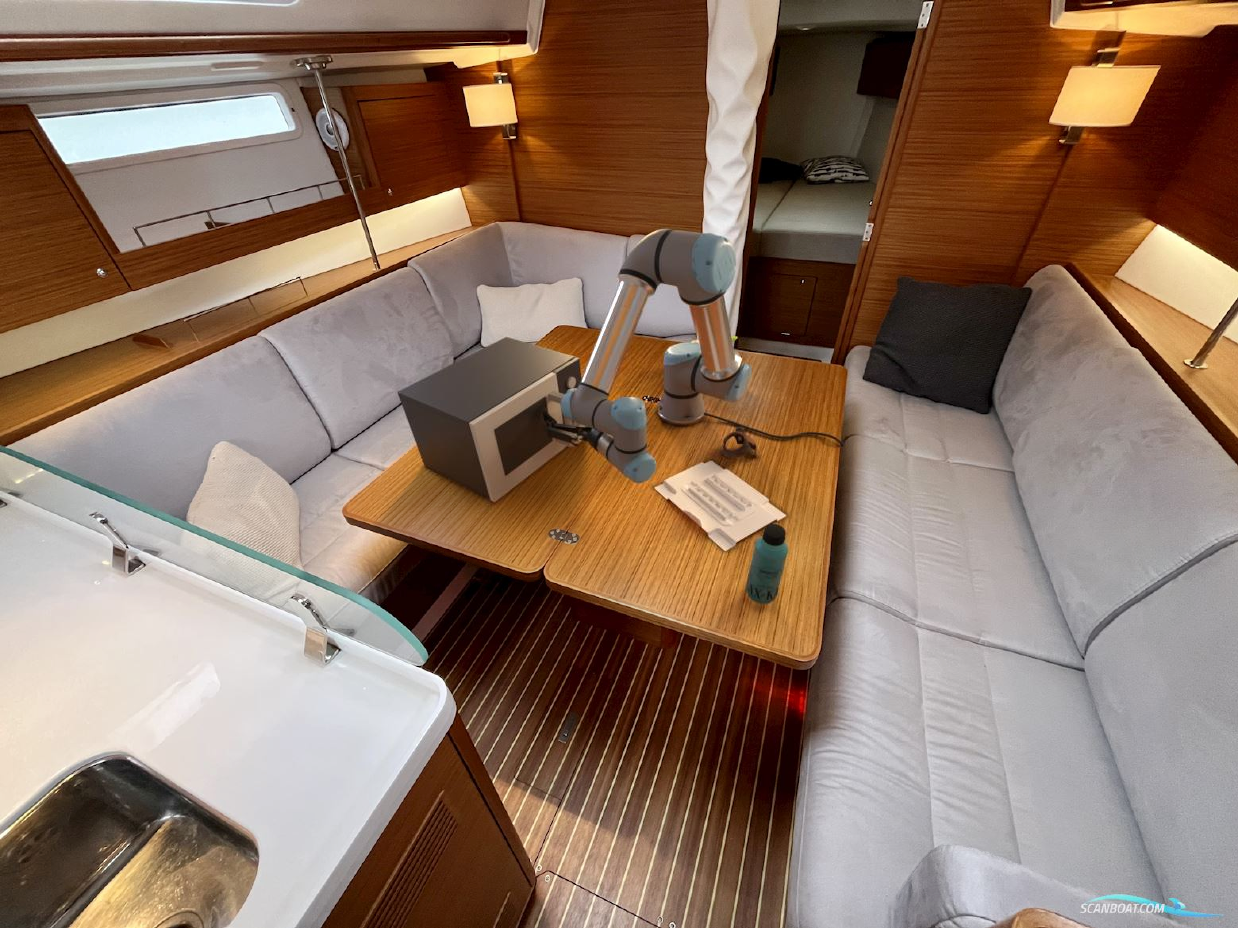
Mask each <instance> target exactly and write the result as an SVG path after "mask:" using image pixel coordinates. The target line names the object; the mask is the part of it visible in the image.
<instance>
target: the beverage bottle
mask: <svg viewBox="0 0 1238 928" xmlns="http://www.w3.org/2000/svg"><path fill="white" fill-rule="evenodd" d="M786 534H787V531H786V529H785V528H784V526H782V525H780V524H778V523H769V524H767V525H765V526H764V528H763V532H762V535H761V536H759V537H757V539H756V540H755V542H754V547H753V552H752V557H751V561H750V562H749V563H750V564H749V570H748V573H747V579H746V583H745V584H746V585H745V591H746V595H747V596H748V598H749V599H750V600H751V601H752V602H753V603H757V604H759V605H769V604H772V603H773V602H774V601H775V600H776V599H777V597H778V594H779V590H780V586H781V582H782V578H783V573H784V570H785V565H786V560H787V556H788V553H789V545H788V544H787V542H786Z"/></svg>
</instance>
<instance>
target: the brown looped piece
mask: <svg viewBox="0 0 1238 928" xmlns="http://www.w3.org/2000/svg"><path fill="white" fill-rule="evenodd" d="M733 437H734V439H735V442H736V444H737V445H741V446H739V447H738V448H736V449H729V448H728V447H726V444H727V442H728V441H729V440H730V439H731V438H733ZM722 443H723V444H722V446H721V447H722V449H721V451H722V455H723V456H724V457H726V458H729V459H736V458H740V459H744V458H745V457H744V452H745V453H746V452H752V451H754V455H755V456H754V457H755V458H758V447H757V444H756V442H755V440H754V439H753V438H752V436H750V435H749V434H746V432H745V428H743V427H741V426H737V427H736V428H735V431H732V432H730V433H728V434H727V435H726V436H725V437H724V438H723V440H722Z"/></svg>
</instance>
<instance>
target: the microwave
mask: <svg viewBox="0 0 1238 928" xmlns="http://www.w3.org/2000/svg"><path fill="white" fill-rule="evenodd" d="M581 369H582V368H581V361H580V358H579V357H576V356H574V355H571V354H567V353H564V352H561V351H557V350H553V349H551V348H547V347H543V346H540V345H537V344H533V343H529V342H525V341H522V340H519V339H515V338H512V337H508V336H505V337H503V338H501V339H499V340H496V341H495V342H493V343H491V344H490V345H489V344H488V345H487V346H486V347H484V348H483V347H482V349H480V350H477V351H475V352H474V353H471V354H470V355H467V356H465V357H463V358H461V359H459V360H457V361H456V362H454V363H451V364H449V365H448V366H446V367H444V368H441V369H440V370H438V371H436V372H433V373H432V374H430V375H428V376H426V377H424V378H421V379H420V380H418V381H416V382H414V383H412V384H410V385H408V386H406V387H404V388H403V389H402V388H401V389H400V390H398V391H396V392H397V395H398V398H399V401H400V404H401V406H402V409H403V412H404V415H405V418H406V420H407V423H408V425H409V428H410V431H411V433H412V437H413V438H414V441H415V445H416V447H417V450H418V452H419V455H420V457H421V461H422V463H423V465H424V467H425V468H427V469H429V470H431V471H433V472H435V473H437V474H439V475H440V476H443V477H444V478H447V479H449V480H450V481H453V482H454V483H456V484H458V485H460V486H462V487H464V488H466V489H468V491H469V490H470V491H471V492H473V493H476V494H477V495H479V496H481V497H483V498H485V499H487V500H489V501H491V500H490V497H489V493H488V490H487V486H486V482H485V479H484V475H483V472H482V468H481V465H480V461H479V457H478V454H477V450H476V447H475V443H474V440H473V436H472V432H471V429H470V425H469V423H470V422H471V421H473V420H475V419H476V418H478V417H479V416H481V415H483V414H484V413H486V412H488V411H489V410H491V409H492V408H494V407H496V406H497V405H499V404H501V403H502V402H504V401H505V400H507V399H509V398H510V397H512V396H514V395H515V394H517V393H519V392H520V391H522V390H523V389H525V388H527V387H528V386H530V385H532V384H533V383H535V382H536V381H538V380H540V379H541V378H543V377H545V376H546V375H548V374H549V373H551V372H553V373H556V377H557V384H558V391H559V393H562V394H566V393H567V391H568V390H569V389H572V388H575V389H576V388H577V389H578V386H579V384H580V382H581V379H582V370H581ZM560 405H561V404H560ZM561 412H562V411H561ZM562 419H563V424H565V422H564V415H563V413H562ZM577 424H578V423H576V422H575V421H573V420H572V425H577ZM582 425H583V424H582ZM580 432H582V429H580Z"/></svg>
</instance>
